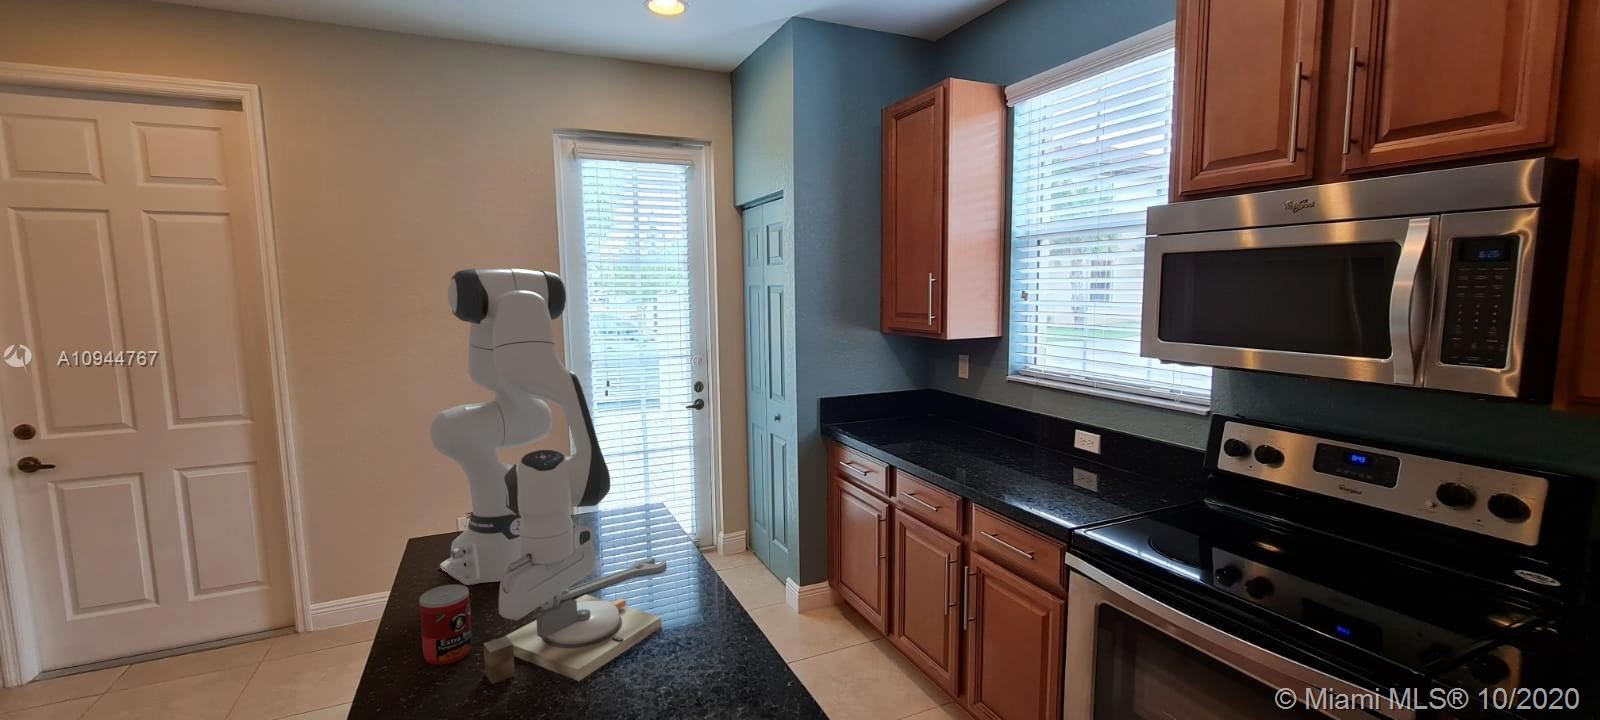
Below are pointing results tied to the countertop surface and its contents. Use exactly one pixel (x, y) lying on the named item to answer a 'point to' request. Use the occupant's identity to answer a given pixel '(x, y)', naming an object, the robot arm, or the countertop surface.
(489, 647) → the block
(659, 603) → the countertop surface
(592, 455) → the robot arm
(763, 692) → the countertop surface
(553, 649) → the panel
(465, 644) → the canned food
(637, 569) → the adjustable wrench
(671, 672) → the countertop surface
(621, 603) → the dial
